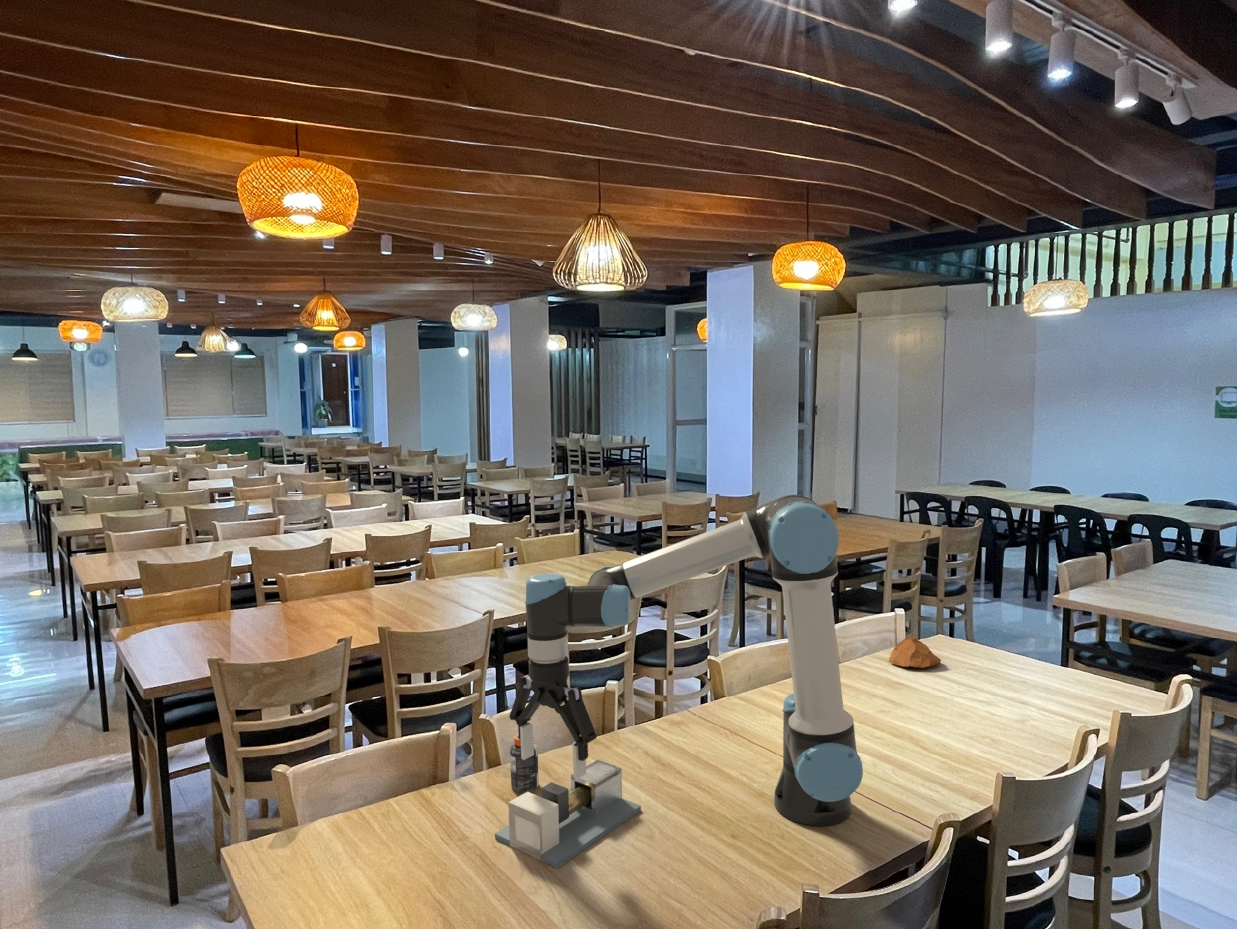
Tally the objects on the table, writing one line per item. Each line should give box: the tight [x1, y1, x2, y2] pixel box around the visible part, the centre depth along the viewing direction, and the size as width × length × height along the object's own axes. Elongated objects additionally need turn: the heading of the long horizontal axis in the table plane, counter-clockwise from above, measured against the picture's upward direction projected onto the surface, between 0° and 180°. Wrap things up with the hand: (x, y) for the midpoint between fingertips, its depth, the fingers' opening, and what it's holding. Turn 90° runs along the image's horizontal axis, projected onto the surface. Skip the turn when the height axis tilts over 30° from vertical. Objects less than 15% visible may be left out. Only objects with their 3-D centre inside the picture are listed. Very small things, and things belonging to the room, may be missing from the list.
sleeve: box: [570, 759, 623, 816], centre depth 164 cm, size 6×8×6 cm
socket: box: [508, 791, 559, 862], centre depth 150 cm, size 8×5×8 cm, turn 52°
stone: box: [888, 636, 942, 669], centre depth 248 cm, size 15×15×10 cm
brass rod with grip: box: [540, 781, 592, 824], centre depth 156 cm, size 4×15×7 cm, turn 142°
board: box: [494, 788, 642, 869], centre depth 158 cm, size 16×25×1 cm, turn 142°
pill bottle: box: [509, 733, 540, 793], centre depth 173 cm, size 6×6×11 cm
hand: (553, 766), depth 153 cm, fingers open, 13 cm apart
